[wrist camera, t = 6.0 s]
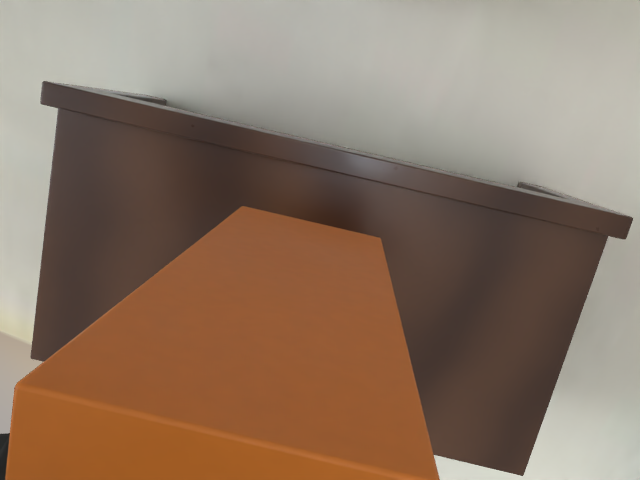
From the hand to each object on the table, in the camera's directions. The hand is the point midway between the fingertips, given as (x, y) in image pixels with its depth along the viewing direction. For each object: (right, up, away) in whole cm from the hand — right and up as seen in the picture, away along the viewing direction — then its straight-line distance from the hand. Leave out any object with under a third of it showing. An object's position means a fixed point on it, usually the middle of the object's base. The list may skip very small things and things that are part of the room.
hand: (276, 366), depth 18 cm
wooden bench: (+1, +4, +18) cm, 19 cm away
